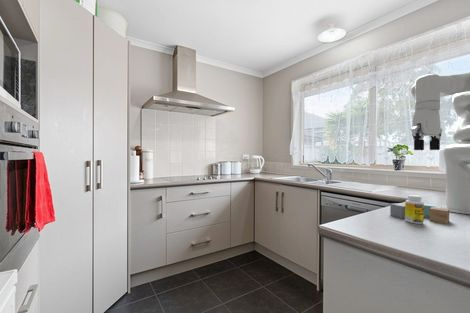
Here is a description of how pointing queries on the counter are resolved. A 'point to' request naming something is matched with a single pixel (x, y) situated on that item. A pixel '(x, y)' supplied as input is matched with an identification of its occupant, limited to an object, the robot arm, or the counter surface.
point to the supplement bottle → (414, 209)
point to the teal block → (427, 209)
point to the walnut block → (439, 215)
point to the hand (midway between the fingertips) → (426, 150)
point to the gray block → (397, 210)
